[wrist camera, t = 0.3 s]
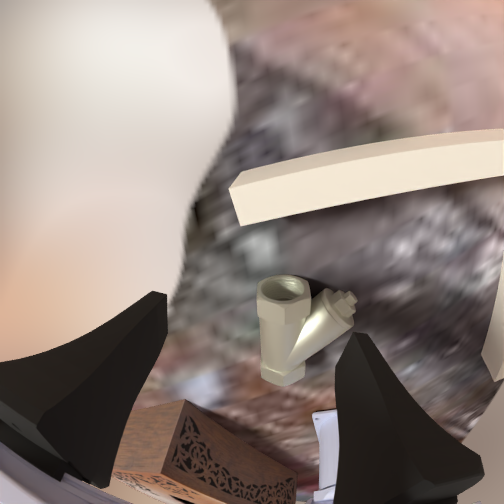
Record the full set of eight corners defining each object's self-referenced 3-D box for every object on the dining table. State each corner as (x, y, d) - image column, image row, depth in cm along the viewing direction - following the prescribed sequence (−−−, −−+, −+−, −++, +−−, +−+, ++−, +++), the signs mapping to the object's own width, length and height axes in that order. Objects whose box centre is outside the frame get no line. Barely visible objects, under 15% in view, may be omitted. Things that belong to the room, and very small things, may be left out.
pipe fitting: (352, 270, 20) (258, 273, 21) (367, 302, 17) (256, 307, 17) (339, 349, 24) (262, 352, 25) (347, 383, 21) (260, 388, 21)
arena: (494, 348, 22) (509, 375, 18) (307, 396, 27) (307, 429, 23) (521, 127, 13) (556, 137, 9) (241, 171, 18) (228, 188, 14)
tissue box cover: (119, 411, 35) (94, 466, 26) (185, 397, 30) (160, 473, 21) (229, 479, 43) (220, 523, 34) (297, 472, 38) (293, 523, 29)
